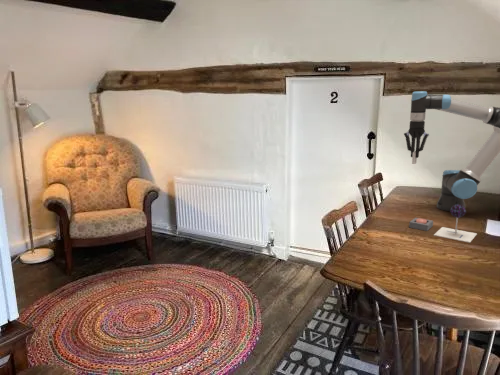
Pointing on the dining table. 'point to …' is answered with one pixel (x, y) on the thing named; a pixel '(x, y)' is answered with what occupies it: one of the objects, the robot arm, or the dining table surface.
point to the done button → (421, 220)
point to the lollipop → (457, 213)
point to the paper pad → (458, 236)
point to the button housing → (420, 225)
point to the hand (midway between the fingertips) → (414, 163)
